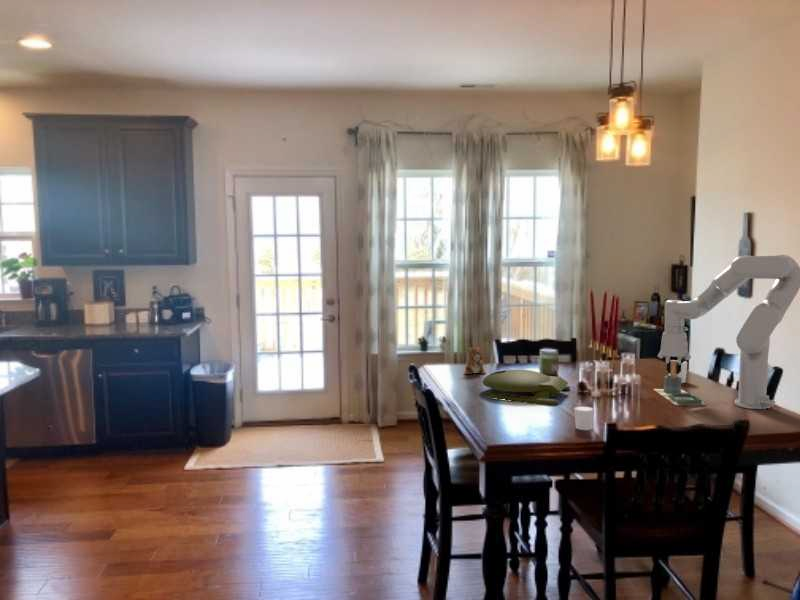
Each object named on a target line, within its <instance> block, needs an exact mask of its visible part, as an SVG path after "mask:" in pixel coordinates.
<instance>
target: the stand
mask: <svg viewBox="0 0 800 600" xmlns="http://www.w3.org/2000/svg"><path fill="white" fill-rule="evenodd" d="M653 391H655V392H656V393H658V394H659V395H661V396H662V397H663V398H665V399H666V400H668V402H669V401H670V403H672V404H673V405H675V406H697V408H707V407H708V404H706V403H704V402H703V401H702V399H701V398H699V397H698V396H696V395H694V394H692V393H689V392H687V391H685V390H684V389H683V388H682V383H681V377H679V376H677V378H670V376H669V375H665V376H663V388H653Z"/></svg>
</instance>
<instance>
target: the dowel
mask: <svg viewBox="0 0 800 600" xmlns="http://www.w3.org/2000/svg"><path fill="white" fill-rule="evenodd" d="M677 364H678V361H670V378H677Z"/></svg>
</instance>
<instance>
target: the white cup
mask: <svg viewBox="0 0 800 600" xmlns="http://www.w3.org/2000/svg"><path fill="white" fill-rule="evenodd" d="M670 361H678V359H677V360H675V359H670ZM687 371H688V362H687V360H686V361H684V362H683V363H682V364H681V372H680V373H679V374H677V376H679V377H681V384H685V383H686V378H687ZM668 376H670V373H668Z"/></svg>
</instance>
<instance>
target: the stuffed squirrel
mask: <svg viewBox="0 0 800 600" xmlns="http://www.w3.org/2000/svg"><path fill="white" fill-rule="evenodd" d="M469 350H470V356H469V359H468V362H467V365H466V367H465V373H466V374H471V375H473V374H472V373H481V374H480V375H482V374H485V375H487V373H486V371H485V370H484V367H483V366H484V362H483V359H484V355H483V354H482V351H483V350H484V348H483V347H481V348H480V347H469ZM466 374H465V375H466Z"/></svg>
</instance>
